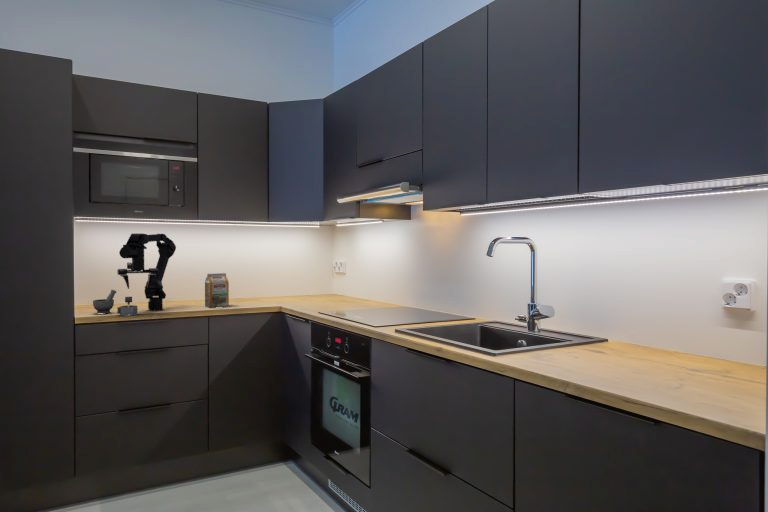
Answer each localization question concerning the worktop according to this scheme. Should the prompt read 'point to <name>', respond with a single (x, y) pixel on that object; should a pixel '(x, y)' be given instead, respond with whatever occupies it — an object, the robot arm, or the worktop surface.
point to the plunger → (128, 300)
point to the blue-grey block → (127, 310)
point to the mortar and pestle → (104, 303)
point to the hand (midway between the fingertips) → (138, 288)
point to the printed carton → (216, 290)
